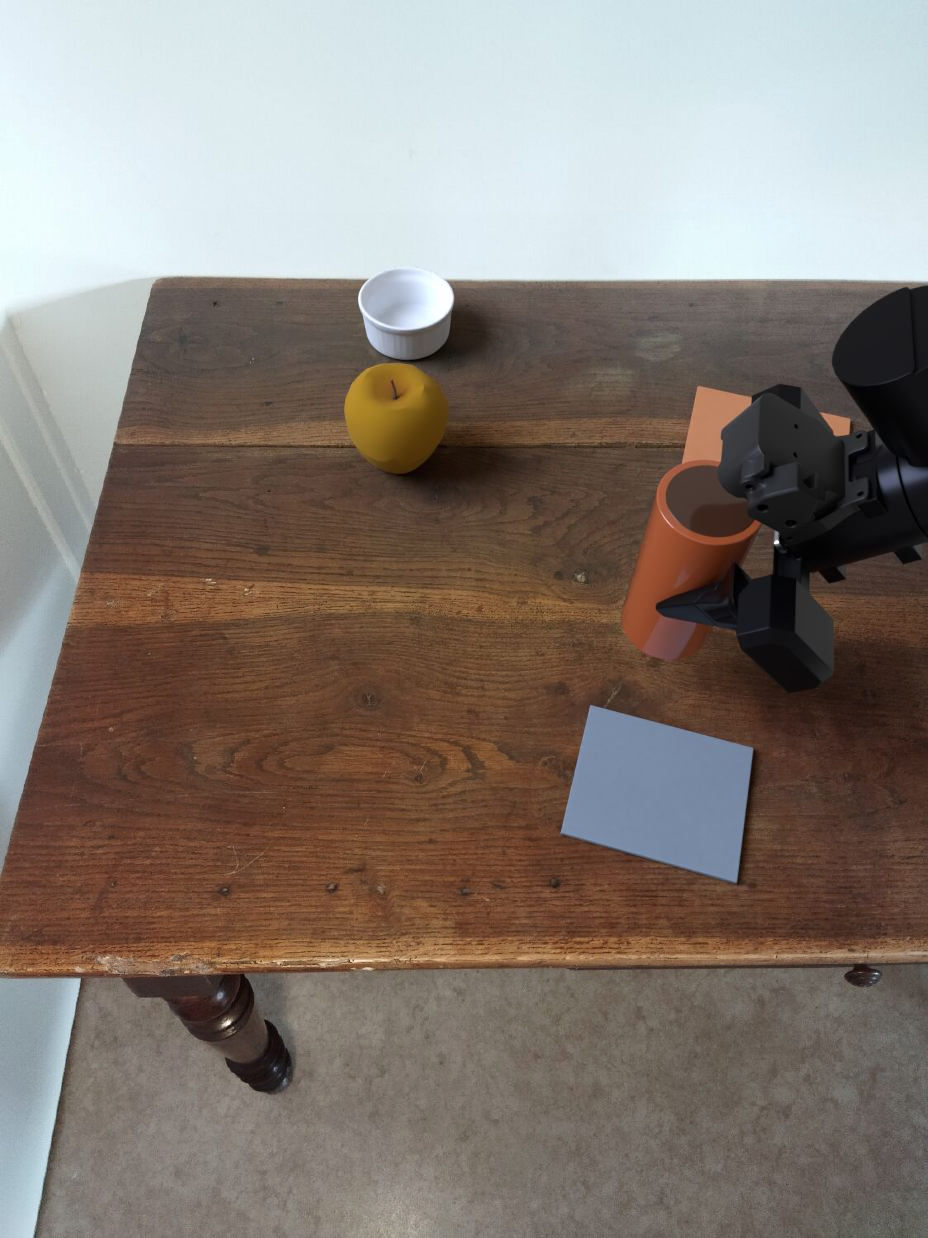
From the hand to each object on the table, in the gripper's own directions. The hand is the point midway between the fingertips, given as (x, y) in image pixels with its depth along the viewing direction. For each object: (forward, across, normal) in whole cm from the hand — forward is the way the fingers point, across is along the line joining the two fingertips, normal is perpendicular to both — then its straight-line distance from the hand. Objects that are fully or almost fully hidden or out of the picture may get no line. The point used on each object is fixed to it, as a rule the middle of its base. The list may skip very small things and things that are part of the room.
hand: (664, 568), depth 57 cm
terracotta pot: (+3, 0, +5) cm, 6 cm away
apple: (+24, -16, -7) cm, 30 cm away
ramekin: (+27, -31, -9) cm, 42 cm away
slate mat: (+6, +10, +11) cm, 16 cm away
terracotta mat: (+2, -24, +16) cm, 28 cm away
